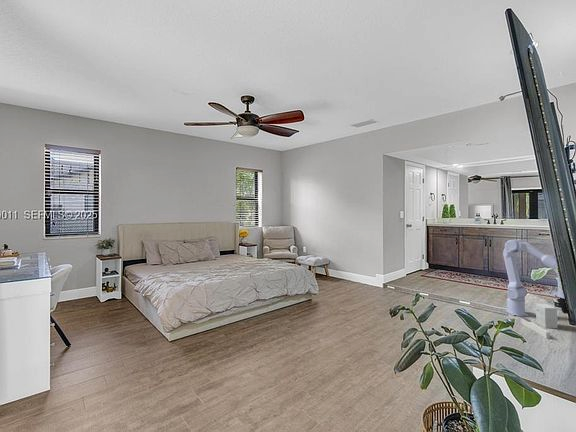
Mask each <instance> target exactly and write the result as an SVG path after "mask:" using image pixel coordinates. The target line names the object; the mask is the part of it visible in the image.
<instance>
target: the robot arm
mask: <svg viewBox="0 0 576 432" xmlns="http://www.w3.org/2000/svg"><path fill="white" fill-rule="evenodd" d="M519 252H527V253H528V254H531V255H533V256H535V258H538V259H540V260H541V263H542V264H543V265H545V266H547V267H548V268H550V269H551V270H554V272H555V274H556V275H557V291H554V292H553V297H558V298H556V301H557V302H558V304H559V306H560V308H561V312H562V313H563V314H565V315H566V314H568V310H567V307H566V303H565V299H564V295H563V290H562V285H561V281H560V277H559V274H558V270H557V263H556V259H557V258H556V256H555V255H554V254H552V255H551V254H546V253H544V252H542V251H541V250H539V249H537V247H535V246H533V245H532V244H530V243H529V242H528V241H525V240H524V239H522V238H517V239H509V240H507V241H506V242H505V243H504V249H503V251H502V256H503V261H504V265H505V269H506V273H507V279H508V285H507V291H506V293H507V299H506V309H505V312H507V313H509V314H511V315H512V316H514V315H516V316H515V317H520V316H523V317H529V316H530V315H529V314H527V313H526V298H525V297H527V294H528V291H527V289H526V288H525V286H524V284H523V282H521V278H520V273H519V269H518V267H517V266H518V265H517V261H516V257H515V256H516V255H517V253H519Z"/></svg>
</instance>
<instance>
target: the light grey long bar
mask: <svg viewBox="0 0 576 432" xmlns="http://www.w3.org/2000/svg"><path fill="white" fill-rule="evenodd" d="M519 318H520V323H521V324H522V325H524V326H525V327H527V328H528V329H530V330H532V331H533V332H536V333H537V335H540V336H542V337H543V338H545V339H551V332H550V331H549V330H547V329H546V328H544V327H542V326H541V325H539V324H537V323H534V322H532V320H530V319H528V318H527V317H526V316H519Z"/></svg>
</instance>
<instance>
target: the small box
mask: <svg viewBox="0 0 576 432" xmlns="http://www.w3.org/2000/svg"><path fill="white" fill-rule="evenodd" d="M535 316H536V317H535V321H536V324H537V325H539V326H540V327H542V328H544V329H558V328H559V327H558V308H557V307H554V306H552V305H550V304H548V303H535Z"/></svg>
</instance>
